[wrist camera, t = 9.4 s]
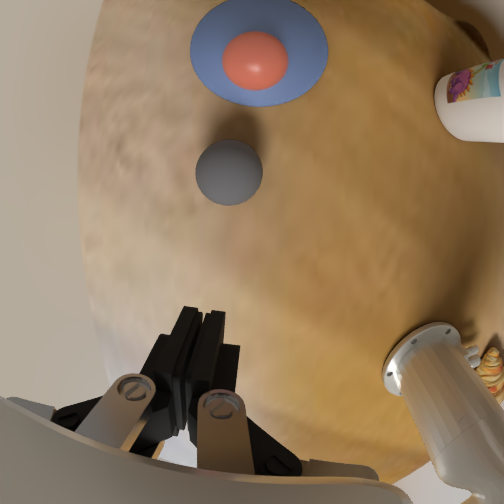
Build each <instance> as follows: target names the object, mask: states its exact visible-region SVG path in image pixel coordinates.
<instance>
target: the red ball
mask: <svg viewBox="0 0 504 504" xmlns="http://www.w3.org/2000/svg"><path fill="white" fill-rule="evenodd" d="M288 63H289V59H288V54H287V51H286V49H285V47H284V45H283V44H282V43H281V42H280V41H279V40H278V39H277V38H276V37H274V36H272V35H270V34H268V33H265V32H259V31H251V32H246V33H242V34H240V35H238V36H236V37H235V38H233V39H232V40H231V41H230V42H229V43H228V44H227V46H226V48H225V50H224V52H223V56H222V66H223V70H224V72H225V74H226V76H227V77H228V78H229V80H230V81H231V82H233V83H234V84H235V85H237V86H238V87H241V88H243V89H246V90H252V91H259V90H265V89H268V88H270V87H272V86H274V85H276V84H277V83H278V82H279V81H280V80H281V79H282V78H283V77H284V75H285V74H286V71H287V69H288Z"/></svg>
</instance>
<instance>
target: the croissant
mask: <svg viewBox="0 0 504 504" xmlns="http://www.w3.org/2000/svg"><path fill="white" fill-rule="evenodd" d="M475 371H476V373H477V374H478V375H479V377H480V378H481V379H482V381H483V382H484V383H485V385H486V386H487V387H488V389H489V390H490V392H491V393H492V394H493V396H494V397H495V399H496V400H497V401H498V403H499V404H501V402H502V401H503V399H504V365H503V360H502V359H501V358H500V356H499V351H498V350H497V349H496V348H495V347H492V348H490V349H489V350H488V351H487V353H486V354H485V355H484V357H483V359H482V360H481V361H480V365H479V366H477V368H476V370H475Z"/></svg>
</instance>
